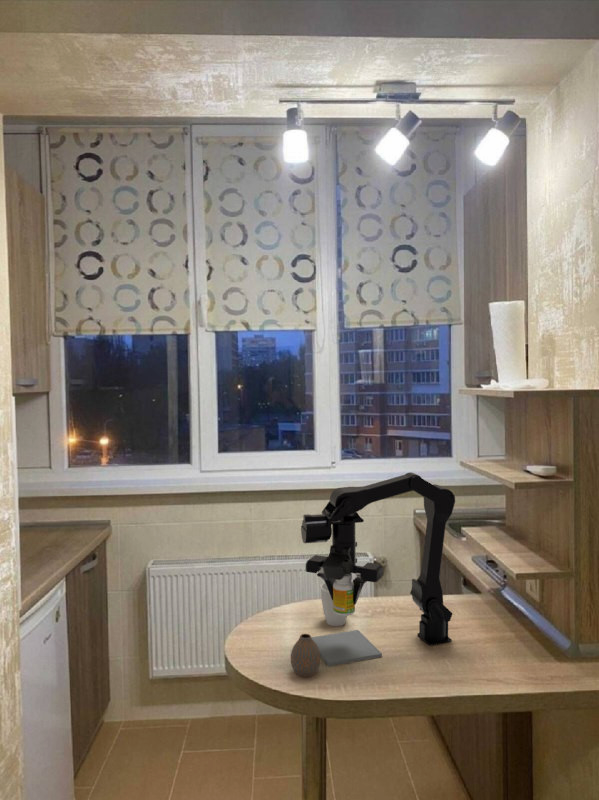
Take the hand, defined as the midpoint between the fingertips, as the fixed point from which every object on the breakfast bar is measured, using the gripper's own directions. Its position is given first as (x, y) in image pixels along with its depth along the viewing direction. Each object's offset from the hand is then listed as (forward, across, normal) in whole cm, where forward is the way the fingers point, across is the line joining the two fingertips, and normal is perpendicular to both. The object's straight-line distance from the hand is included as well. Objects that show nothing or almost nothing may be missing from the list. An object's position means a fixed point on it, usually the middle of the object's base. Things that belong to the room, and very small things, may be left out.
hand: (344, 602), depth 152 cm
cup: (+12, -8, +13) cm, 20 cm away
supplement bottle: (+3, 0, 0) cm, 3 cm away
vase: (+12, -4, -15) cm, 20 cm away
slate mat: (+12, 0, 0) cm, 12 cm away
